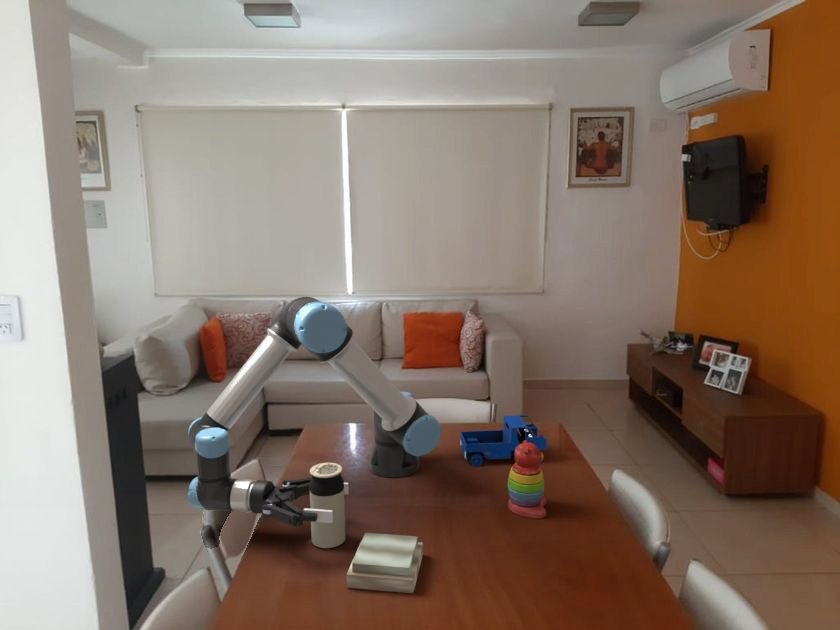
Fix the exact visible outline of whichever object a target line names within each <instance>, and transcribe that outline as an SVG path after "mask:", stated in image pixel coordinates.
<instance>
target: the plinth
mask: <svg viewBox="0 0 840 630" xmlns="http://www.w3.org/2000/svg"><path fill="white" fill-rule="evenodd" d="M358 545H359V546H358V547H357V550H356V552H355V554H354V557H353V559H352V561H351V564H350V566H349V568H348V570H347V572H346V575H345V576H346V588H348V589H359V590H369V591H370V590H371V591H381V592H392V593H395V592H396V593H405V594H414V593H415V592H414V591H415V589H416V585H417V580H418V576H419V572H420V569H421V563H422V559H423V555H424V548H423V547H424V543H423V542H422V541H421V542H419V538H418V536H416V535H403V534H402V535H401V534H390V533H389V534H388V533H375V532H373V533H372V532H365V533H364V535H363V537H362V538H361V541H360V542H359V544H358Z"/></svg>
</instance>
